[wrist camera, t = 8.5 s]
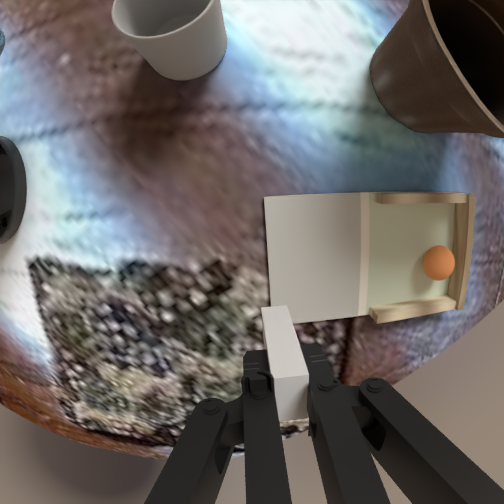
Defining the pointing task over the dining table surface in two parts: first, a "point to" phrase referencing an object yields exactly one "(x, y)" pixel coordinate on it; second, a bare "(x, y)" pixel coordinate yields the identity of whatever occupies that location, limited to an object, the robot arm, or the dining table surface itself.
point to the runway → (351, 252)
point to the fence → (459, 251)
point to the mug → (174, 34)
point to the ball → (438, 262)
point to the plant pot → (444, 67)
